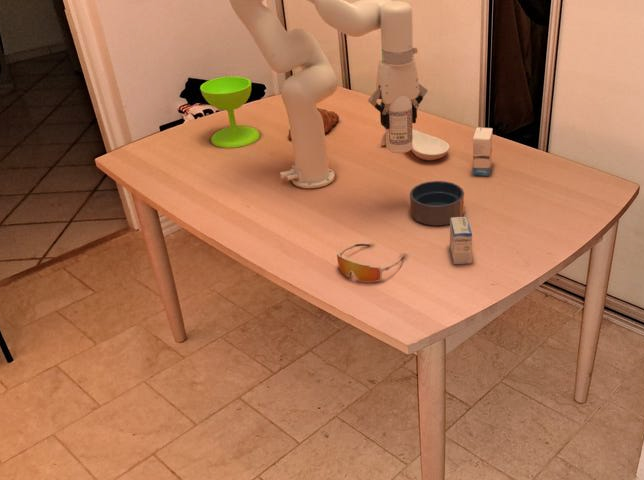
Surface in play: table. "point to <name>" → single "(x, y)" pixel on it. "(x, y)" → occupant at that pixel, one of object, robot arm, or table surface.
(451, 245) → the medicine box
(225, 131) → the wineglass
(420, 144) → the spoon rest
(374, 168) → the table surface
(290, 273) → the table surface
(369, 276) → the sunglasses
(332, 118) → the pastry
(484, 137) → the ink box
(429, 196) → the bowl
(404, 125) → the bath foam
